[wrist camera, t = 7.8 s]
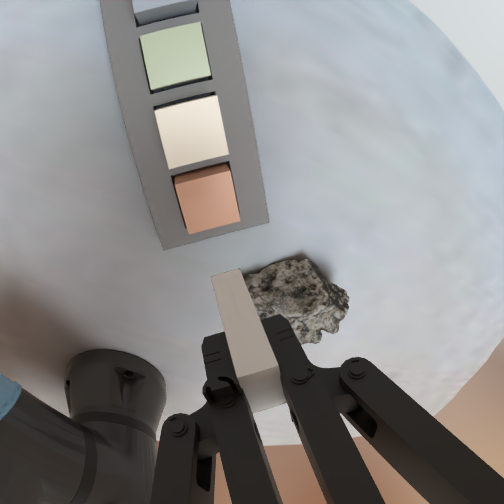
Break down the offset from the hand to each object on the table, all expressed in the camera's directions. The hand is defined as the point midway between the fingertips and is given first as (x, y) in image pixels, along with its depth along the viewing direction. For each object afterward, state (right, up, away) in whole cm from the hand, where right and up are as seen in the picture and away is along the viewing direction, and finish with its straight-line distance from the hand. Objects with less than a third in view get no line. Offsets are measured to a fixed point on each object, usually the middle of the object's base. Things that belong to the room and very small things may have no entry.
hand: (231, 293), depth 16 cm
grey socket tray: (-5, +16, +8) cm, 18 cm away
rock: (+5, -2, +21) cm, 22 cm away
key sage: (-5, +18, +5) cm, 19 cm away
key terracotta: (-3, +8, +11) cm, 14 cm away
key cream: (-4, +12, +7) cm, 15 cm away
